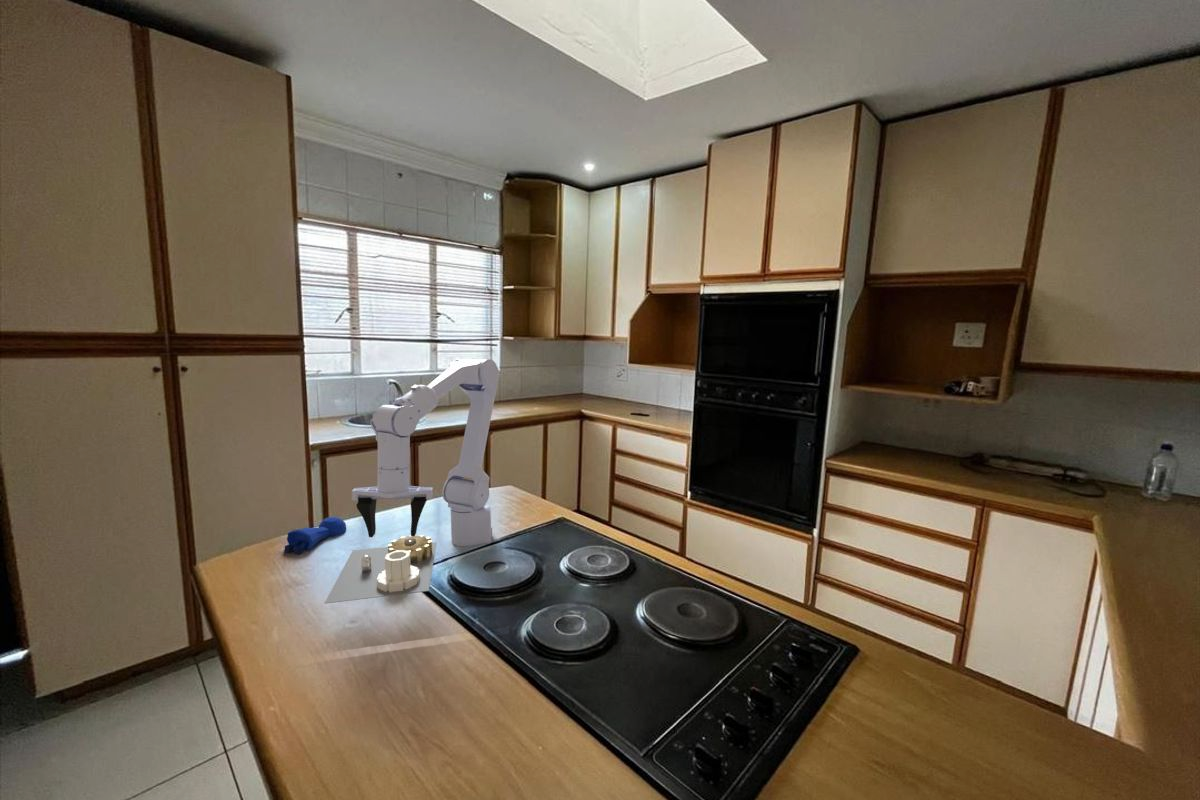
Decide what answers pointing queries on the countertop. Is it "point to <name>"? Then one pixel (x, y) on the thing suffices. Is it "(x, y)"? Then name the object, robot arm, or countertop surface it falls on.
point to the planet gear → (398, 572)
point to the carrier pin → (366, 564)
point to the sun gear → (413, 547)
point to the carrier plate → (373, 577)
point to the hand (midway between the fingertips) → (393, 534)
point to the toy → (314, 535)
